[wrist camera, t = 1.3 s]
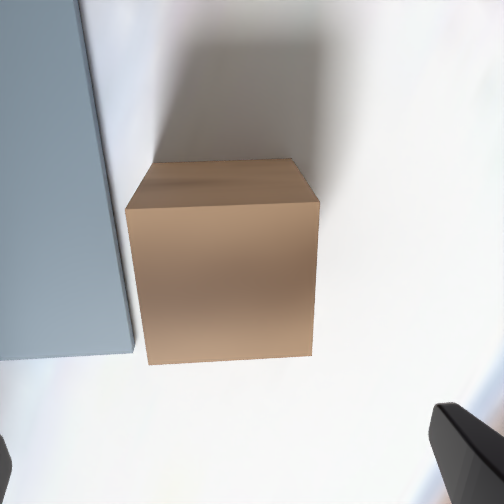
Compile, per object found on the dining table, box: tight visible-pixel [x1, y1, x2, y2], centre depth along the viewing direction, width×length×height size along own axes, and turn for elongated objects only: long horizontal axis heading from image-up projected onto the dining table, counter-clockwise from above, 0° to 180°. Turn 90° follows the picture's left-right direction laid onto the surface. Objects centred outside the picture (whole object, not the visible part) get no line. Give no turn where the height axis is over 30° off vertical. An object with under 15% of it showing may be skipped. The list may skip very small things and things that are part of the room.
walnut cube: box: [125, 158, 320, 365], centre depth 17 cm, size 6×6×6 cm
